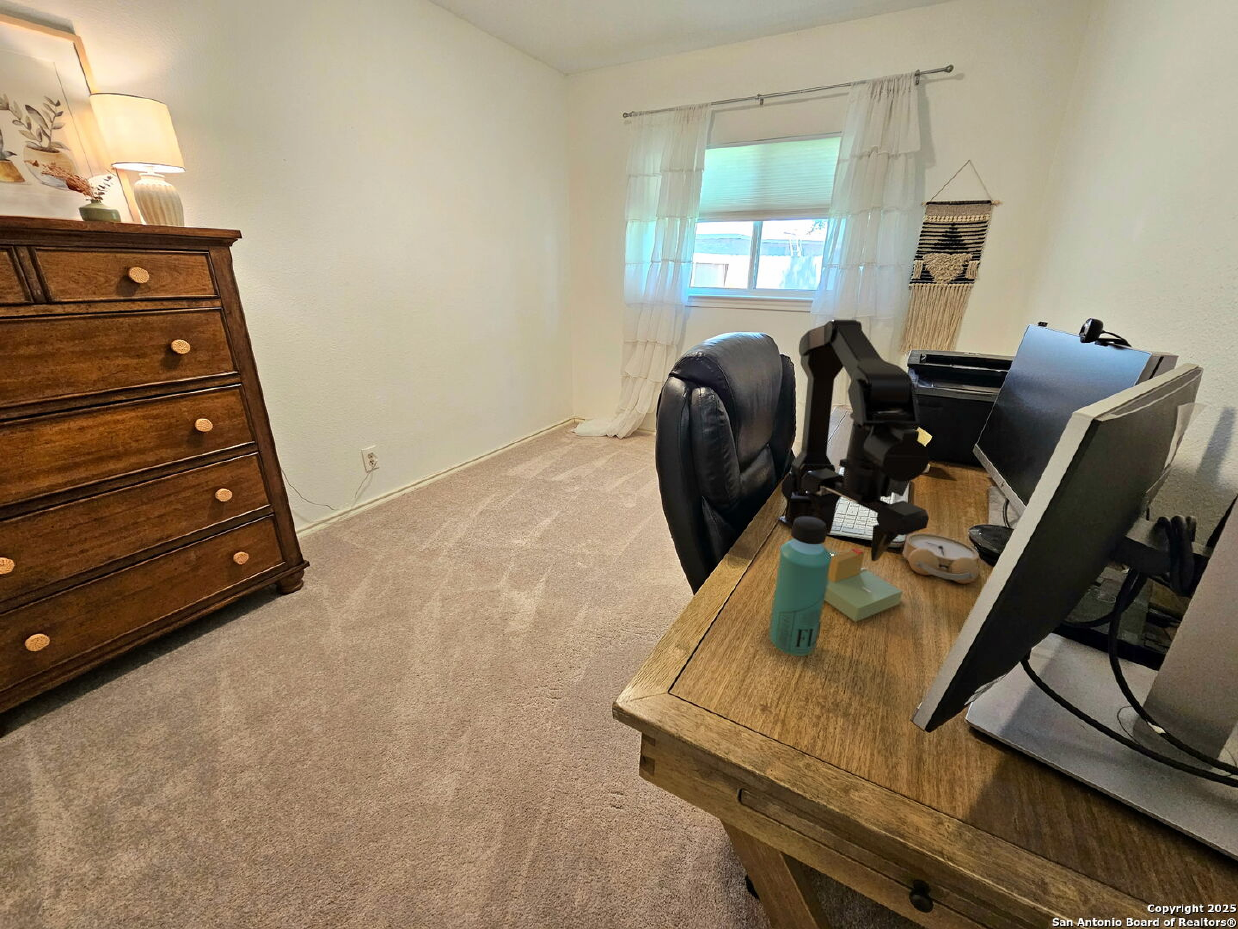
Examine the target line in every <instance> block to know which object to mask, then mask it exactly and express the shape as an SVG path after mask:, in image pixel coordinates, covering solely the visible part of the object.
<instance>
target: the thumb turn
mask: <svg viewBox="0 0 1238 929" xmlns="http://www.w3.org/2000/svg"><path fill="white" fill-rule="evenodd" d="M864 557H865V552H864V551H863V550H862V549H860V548H858V547H855V548H853V549H851V550H847V551H844V552H841V553H838V555H835V556H831V563H830V567H829V573H828V574H829V575H828V579H830V580H831V581H833V582H837V581H840V580H843V579H846V578H849V577H852V576H855V575H857V574H860V572H861V567H862V566H863V562H864ZM862 568H863V567H862Z"/></svg>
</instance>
